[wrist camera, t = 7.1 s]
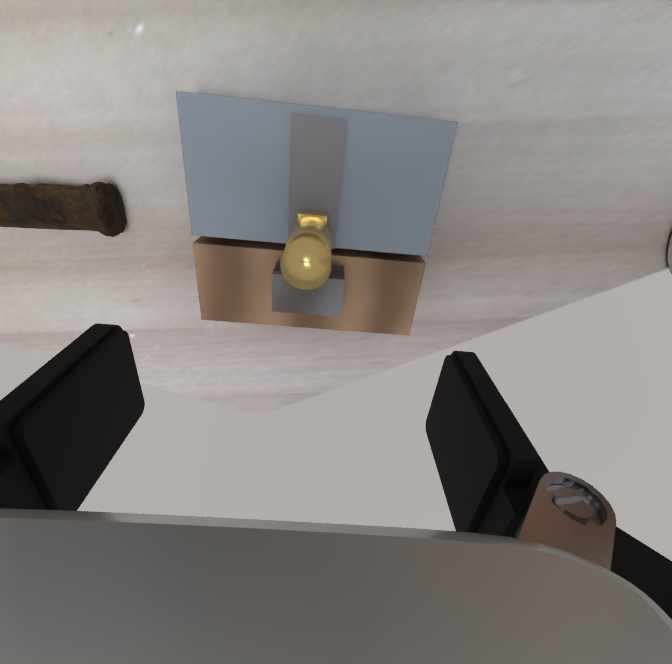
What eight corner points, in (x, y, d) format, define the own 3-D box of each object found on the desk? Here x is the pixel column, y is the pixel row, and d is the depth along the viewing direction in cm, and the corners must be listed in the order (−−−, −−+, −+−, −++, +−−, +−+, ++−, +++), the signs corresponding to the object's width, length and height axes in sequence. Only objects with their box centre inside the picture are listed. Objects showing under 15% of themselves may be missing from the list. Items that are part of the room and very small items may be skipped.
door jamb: (415, 248, 31) (434, 276, 25) (401, 314, 34) (416, 353, 28) (209, 229, 30) (178, 254, 24) (215, 299, 33) (189, 336, 27)
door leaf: (441, 122, 26) (459, 121, 23) (416, 241, 31) (428, 257, 27) (197, 95, 25) (173, 90, 22) (208, 222, 30) (190, 236, 26)
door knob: (333, 212, 25) (333, 241, 19) (325, 301, 29) (323, 351, 22) (293, 208, 25) (280, 236, 18) (291, 298, 28) (279, 348, 22)
